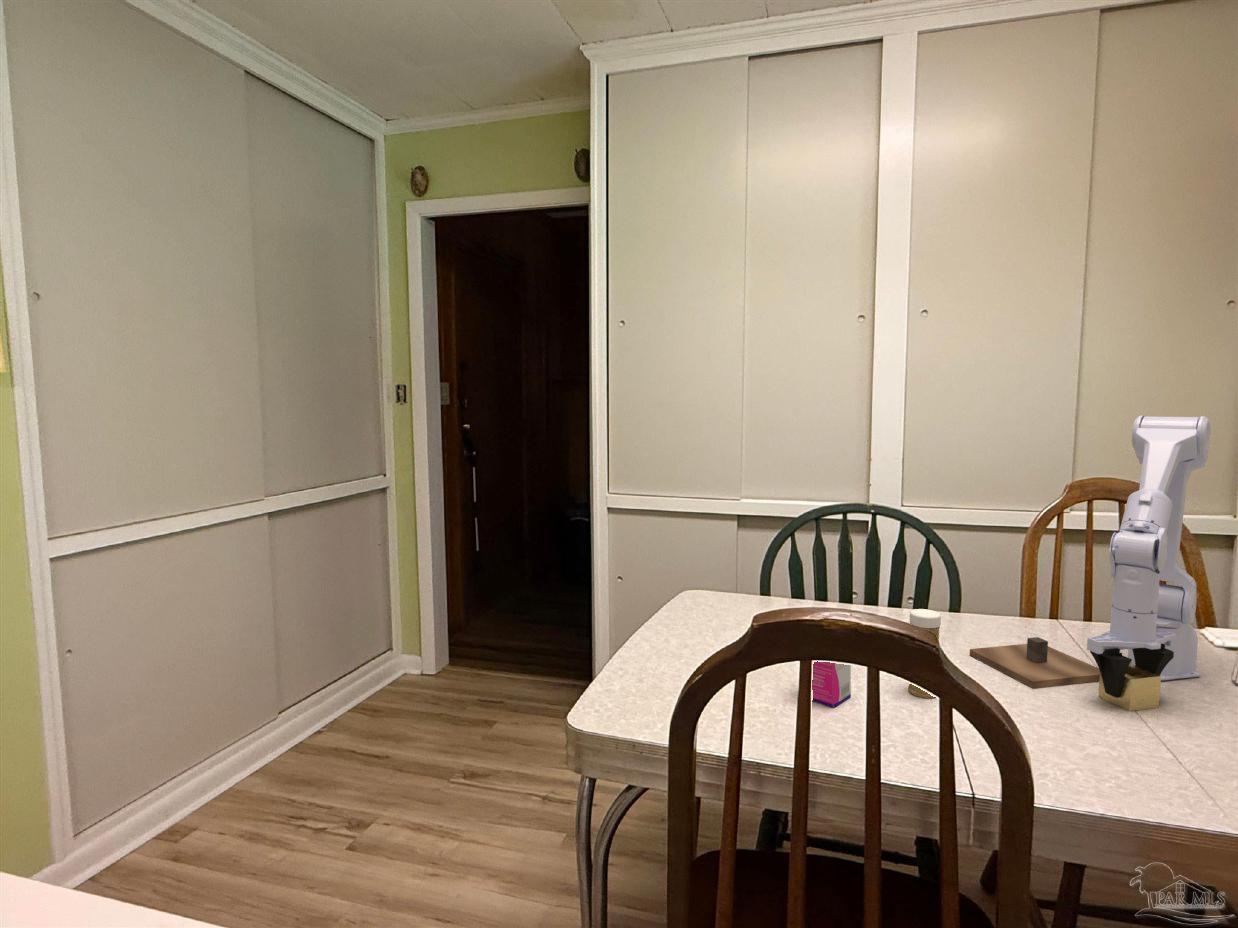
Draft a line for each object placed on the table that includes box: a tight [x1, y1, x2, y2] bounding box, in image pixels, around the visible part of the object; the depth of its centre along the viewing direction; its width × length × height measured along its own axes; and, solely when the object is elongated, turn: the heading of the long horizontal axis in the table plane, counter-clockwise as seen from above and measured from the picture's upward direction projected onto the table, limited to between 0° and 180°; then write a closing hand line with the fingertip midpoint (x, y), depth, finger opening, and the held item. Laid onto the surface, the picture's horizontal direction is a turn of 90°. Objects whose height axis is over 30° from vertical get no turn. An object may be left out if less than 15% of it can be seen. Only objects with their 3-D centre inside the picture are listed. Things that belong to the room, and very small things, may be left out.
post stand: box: [969, 636, 1100, 689], centre depth 123 cm, size 15×15×5 cm
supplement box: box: [812, 661, 852, 709], centre depth 111 cm, size 6×6×12 cm
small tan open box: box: [1098, 664, 1162, 712], centre depth 109 cm, size 5×5×5 cm
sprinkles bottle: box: [907, 608, 942, 699], centre depth 113 cm, size 5×5×13 cm
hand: (1128, 693), depth 109 cm, fingers closed on small tan open box, 5 cm apart
